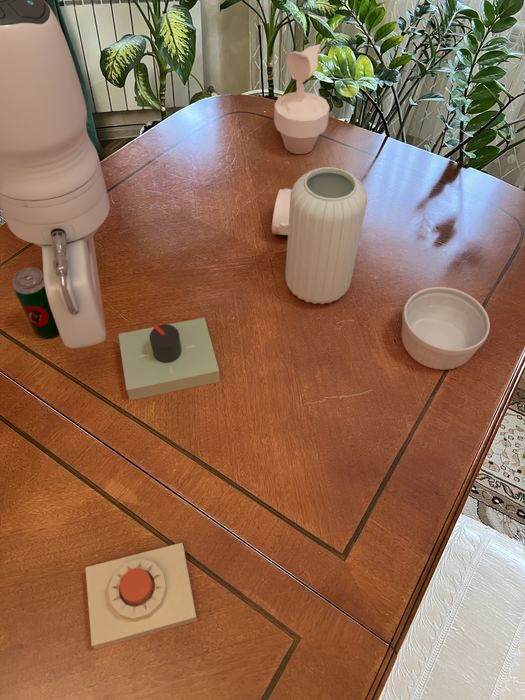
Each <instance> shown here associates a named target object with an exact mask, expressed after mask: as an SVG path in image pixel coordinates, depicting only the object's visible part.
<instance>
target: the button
mask: <svg viewBox="0 0 525 700" xmlns="http://www.w3.org/2000/svg"><path fill="white" fill-rule="evenodd" d="M119 589H120V593H121V595H122V596H123V598H124V599H125V600H126V601H127V602H128V603H130V604H141V603H143V602H145V601H146V600H147V599H148V598H149V597H150V595H151V593H152V590H153V583H152V580H151V578H150V576H149V574H148V573H147V572H146V571H145V570H143V569H140V568H135V569H131V570H129V571H127V572H126V573H125V574H124V575H123V577H122V578H121V581H120V584H119Z"/></svg>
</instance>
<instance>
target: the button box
mask: <svg viewBox="0 0 525 700" xmlns="http://www.w3.org/2000/svg"><path fill="white" fill-rule="evenodd" d="M187 561H188V560H187V556H186V551H185V546H184V543H183V542H179V543H175V544H171V545H167V546H162V547H159V548H155V549H151V550H147V551H144V552H140V553H135V554H132V555H127V556H124V557H121V558H120V557H119V558H116V559H112V560H109V561H104V562H100V563H97V564H93V565H89V566H85V581H86V593H87V605H88V619H89V633H90V644H91V647H92V648H93V649H95V650H100V649H103V648H107V647H110V646H115V645H117V644H122V643H125V642H129V641H132V640H136V639H139V638H142V637H146V636H150V635H154V634H157V633H160V632H165V631H168V630H170V629H174V628H177V627H182V626H185V625H189V624H193V623H196V622H198V616H197V612H196V611H197V610H196V605H195V600H194V595H193V589H192V584H191V578H190V573H189V568H188V562H187ZM135 568H140V569H143V570H145V571H146V572H147V573H148V574H149V576H150V578H151V580H152V583H153V590H152V593H151V595H150V597H149V598H148V599H147V600H146V601H145V602H143V603H141V604H130V603H128V602H127V601H126V600H125V599H124V598H123V596H122V595H121V593H120V589H119V584H120V581H121V578H122V577H123V575H124V574H125V573H126V572H127V571H129V570H131V569H135Z"/></svg>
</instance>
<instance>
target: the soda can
mask: <svg viewBox="0 0 525 700" xmlns="http://www.w3.org/2000/svg"><path fill="white" fill-rule="evenodd" d="M12 288H13V290H14V292H15V295H16V297H17V299H18V301H19V303H20V305H21V308H22V310H23V312H24V313H25V316H26V318H27V320H28V322H29V324H30V326H31V328H32V331H33V332H34V334H35V335H36V336H37V337H40V338H43V339H50V338H54V337H57V336H59V335H60V333H59V330H58V328H57V325H56V322H55V319H54V317H53V314H52V311H51V308H50V305H49V302H48V298H47V294H46V290H45V285H44V277H43V271H42V270H41V269H39V268H37V267H32V266H31V267H30V266H29V267H24V268H22V269H20V270H18V271H17V272H16V273H15V274H14V276H13V277H12Z"/></svg>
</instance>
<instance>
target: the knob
mask: <svg viewBox="0 0 525 700" xmlns="http://www.w3.org/2000/svg"><path fill="white" fill-rule="evenodd" d="M153 327H154V329H153V330H152V331H151V333H150V342H151V347H152V351H153V355H154V357H155V359H156V360H158V361H159V362H162V363H170V362H173V361H175V360H177V359H178V358H179V357H180V355H181V352H182V349H181V343H180V337H179V332H178V330H177V329H176V328H175V327H174V326H172V325H167V324H159V325H155V326H153Z"/></svg>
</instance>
